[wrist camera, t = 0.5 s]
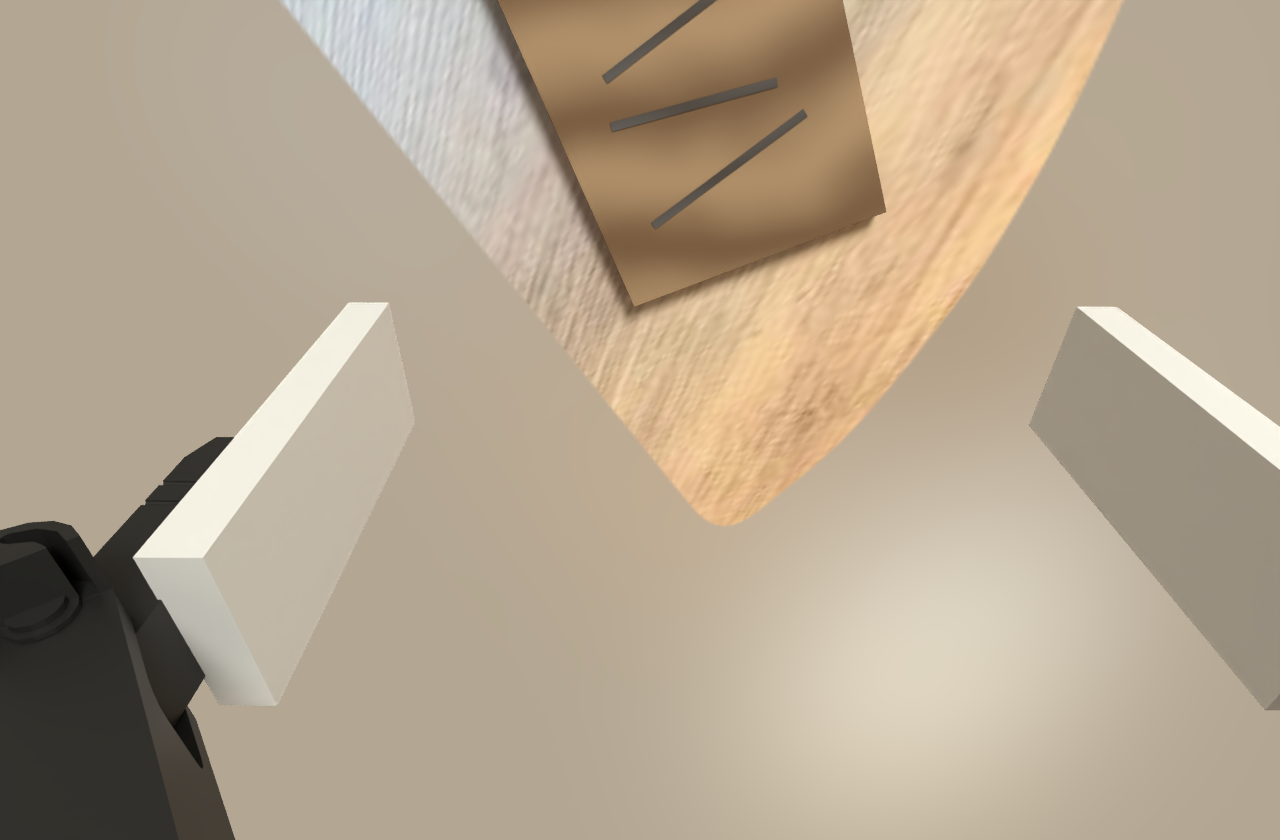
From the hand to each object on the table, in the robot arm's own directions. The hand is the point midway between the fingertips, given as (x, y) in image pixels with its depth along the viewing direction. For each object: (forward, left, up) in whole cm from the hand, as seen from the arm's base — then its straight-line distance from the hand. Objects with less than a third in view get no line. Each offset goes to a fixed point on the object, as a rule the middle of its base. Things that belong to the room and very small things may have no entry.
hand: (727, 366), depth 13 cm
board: (-1, +2, -24) cm, 24 cm away
